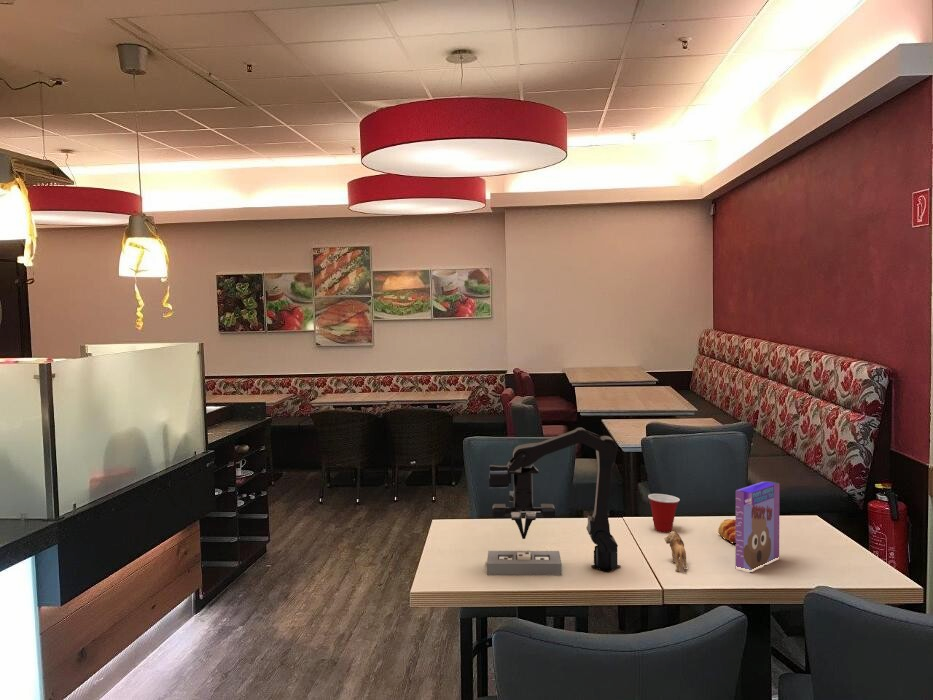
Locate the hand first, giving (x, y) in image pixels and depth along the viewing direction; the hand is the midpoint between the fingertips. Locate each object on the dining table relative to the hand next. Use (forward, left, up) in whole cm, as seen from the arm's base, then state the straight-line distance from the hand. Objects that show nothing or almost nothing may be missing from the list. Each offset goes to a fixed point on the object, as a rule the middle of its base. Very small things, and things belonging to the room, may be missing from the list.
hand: (523, 538), depth 231 cm
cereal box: (-47, -53, -9) cm, 71 cm away
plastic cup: (-7, -63, -9) cm, 64 cm away
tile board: (0, 0, -9) cm, 9 cm away
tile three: (+4, +4, -8) cm, 10 cm away
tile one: (-4, -4, -8) cm, 10 cm away
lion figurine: (-31, -35, -9) cm, 47 cm away
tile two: (0, 0, -7) cm, 7 cm away
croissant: (-28, -73, -10) cm, 79 cm away
